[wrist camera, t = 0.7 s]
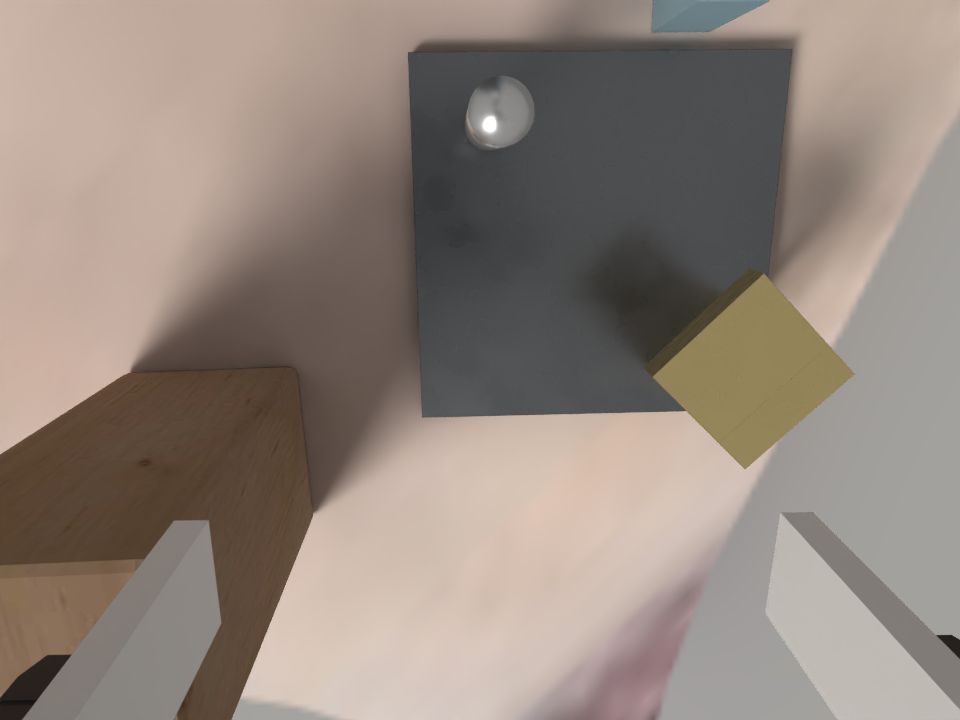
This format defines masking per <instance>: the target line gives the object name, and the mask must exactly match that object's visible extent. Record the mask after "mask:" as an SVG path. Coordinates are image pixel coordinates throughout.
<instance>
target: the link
mask: <svg viewBox="0 0 960 720" xmlns="http://www.w3.org/2000/svg"><path fill="white" fill-rule="evenodd" d="M767 2H769V0H653V14H652V32H710V31H712V30H714V29H716V28H718V27H720V26H722V25H724V24H726V23H728V22H730V21H732V20H734V19H736V18H737V17H739V16H741V15H743V14H745V13H747V12H749V11H751V10H753V9H755V8H757V7H759V6H761V5H763V4H765V3H767Z"/></svg>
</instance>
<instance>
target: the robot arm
mask: <svg viewBox="0 0 960 720" xmlns="http://www.w3.org/2000/svg"><path fill="white" fill-rule="evenodd" d="M765 613H766V615H767V616H768V618H769V619H770V621H771V622H772V624H773V625H774V627H775V628H776V630H777V631H778V633H779V634H780V636H781V637H782V639H783V640H784V642H785V643H786V644H787V646H788V647H789V649H790V650H791V652H792V653H793V655H794V656H795V658H796V659H797V661H798V662H799V664H800V665H801V667H802V668H803V670H804V671H805V672H806V674H807V675H808V677H809V678H810V680H811V681H812V683H813V684H814V686H815V687H816V689H817V690H818V692H819V693H820V695H821V696H822V697H823V699H824V700H825V702H826V704H827V705H828V706H829V708H830V709H831V711H832V712H833V714H834V715H835V717H836V718H837V720H960V640H959V639H957V638H956V637H954V636H952V635H935V634H934V633H933V632H932V631H931V630H930V629H929V628H928V627H927V626H926V625H925V624H924V623H923V622H922V621H921V620H920V619H919V618H918V617H917V616H916V615H915V614H914V613H913V612H912V611H911V610H910V609H909V608H908V607H907V606H906V605H905V604H904V603H903V602H902V601H901V600H900V599H899V598H898V597H897V596H896V595H895V594H894V593H893V592H892V591H891V590H890V589H889V588H888V587H887V586H886V585H885V584H884V583H883V582H882V581H881V580H880V579H879V578H878V577H877V576H876V575H875V574H874V573H873V572H872V571H871V570H870V569H869V568H868V567H867V566H866V565H865V564H864V563H863V562H862V561H861V560H860V559H859V558H858V557H857V556H856V555H855V554H854V553H853V552H852V551H851V550H850V549H849V548H848V547H847V546H846V545H845V544H844V543H843V542H842V541H841V540H840V539H839V538H838V537H837V536H836V535H835V534H834V533H833V532H832V531H831V530H830V529H829V528H828V527H827V526H826V525H825V524H824V523H823V522H822V521H821V520H820V519H819V518H818V517H817V516H816V515H815V514H814V513H813V512H806V513H805V512H803V513H802V512H799V513H798V512H797V513H780V520H779V527H778V533H777V540H776V546H775V552H774V559H773V566H772V573H771V579H770V585H769V592H768V599H767V605H766V612H765ZM220 625H221V616H220V608H219V600H218V592H217V584H216V576H215V568H214V560H213V552H212V544H211V535H210V527H209V520H182V521H173V523H172V524H171V525H170V527H169V528H168V529H167V531H166V532H165V533H164V535H163V536H162V537H161V538H160V540H159V541H158V542H157V544H156V545H155V546H154V548H153V549H152V550H151V552H150V553H149V554H148V555H147V557H146V558H145V559H144V561H143V562H142V563H141V565H140V566H139V567H138V569H137V570H136V571H135V573H134V574H133V575H132V576H131V578H130V579H129V580H128V582H127V583H126V584H125V586H124V587H123V588H122V590H121V591H120V592H119V594H118V595H117V596H116V597H115V599H114V600H113V601H112V603H111V604H110V605H109V607H108V608H107V609H106V611H105V612H104V613H103V615H102V616H101V617H100V618H99V620H98V621H97V622H96V624H95V625H94V626H93V628H92V629H91V630H90V632H89V633H88V634H87V636H86V637H85V638H84V639H83V641H82V642H81V643H80V645H79V646H78V647H77V649H76V650H75V651H74V653H73V654H72V655H47V656H45V657H44V658H43V659H41V660H40V661H38V662H37V663H36V664H34V665H33V666H32V667H30V668H29V669H27V670H26V671H25V672H23V673H22V674H21V675H19V676H18V677H17V678H16V679H15V681H14V682H13V683H12V684H11V685H10V687H9V688H8V689H7V690H6V691H5V693H4V694H3V695H2V696H1V697H0V720H174V718H175V716H176V714H177V712H178V710H179V708H180V706H181V704H182V702H183V700H184V698H185V696H186V694H187V692H188V690H189V688H190V686H191V684H192V682H193V680H194V678H195V676H196V674H197V672H198V670H199V667H200V665H201V663H202V661H203V659H204V657H205V655H206V653H207V651H208V649H209V647H210V645H211V643H212V641H213V639H214V637H215V635H216V633H217V631H218V629H219V627H220Z"/></svg>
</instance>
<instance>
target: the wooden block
mask: <svg viewBox="0 0 960 720" xmlns="http://www.w3.org/2000/svg"><path fill="white" fill-rule="evenodd" d="M312 517H313V510H312V501H311V492H310V483H309V474H308V465H307V456H306V447H305V438H304V428H303V419H302V410H301V401H300V392H299V383H298V375H297V373H296V371H295V369H293V368H289V367H276V368H250V369H224V370H198V371H172V372H146V373H128V374H126V375H124V376H122V377H120V378H119V379H117V380H116V381H114V382H112V383H111V384H109V385H108V386H106V387H105V388H103V389H102V390H100V391H98V392H97V393H95V394H94V395H92V396H91V397H89V398H88V399H86V400H84V401H83V402H81V403H80V404H78V405H77V406H75V407H74V408H72V409H70V410H69V411H67V412H66V413H64V414H63V415H61V416H60V417H58V418H56V419H55V420H53V421H52V422H50V423H49V424H47V425H46V426H44V427H42V428H41V429H39V430H38V431H36V432H35V433H33V434H31V435H30V436H28V437H27V438H25V439H24V440H22V441H21V442H19V443H17V444H16V445H14V446H13V447H11V448H10V449H8V450H7V451H5V452H3V453H2V454H0V697H1V696H2V695H3V694H4V693H5V691H6V690H7V689H8V688H9V687H10V685H11V684H12V683H13V682H14V681H15V679H16V678H17V677H18V676H19V675H21V674H22V673H23V672H25V671H26V670H27V669H29V668H30V667H32V666H33V665H34V664H36V663H37V662H38V661H40V660H41V659H43V658H44V657H45V656H47V655H72V654H73V653H74V651H75V650H76V649H77V647H78V646H79V645H80V643H81V642H82V641H83V639H84V638H85V637H86V636H87V634H88V633H89V632H90V630H91V629H92V628H93V626H94V625H95V624H96V622H97V621H98V620H99V618H100V617H101V616H102V615H103V613H104V612H105V611H106V609H107V608H108V607H109V605H110V604H111V603H112V601H113V600H114V599H115V597H116V596H117V595H118V594H119V592H120V591H121V590H122V588H123V587H124V586H125V584H126V583H127V582H128V580H129V579H130V578H131V576H132V575H133V574H134V573H135V571H136V570H137V569H138V567H139V566H140V565H141V563H142V562H143V561H144V559H145V558H146V557H147V555H148V554H149V553H150V552H151V550H152V549H153V548H154V546H155V545H156V544H157V542H158V541H159V540H160V538H161V537H162V536H163V535H164V533H165V532H166V531H167V529H168V528H169V527H170V525H171V524H172V523H173V521H182V520H209V527H210V535H211V544H212V552H213V560H214V568H215V576H216V584H217V592H218V600H219V608H220V616H221V625H220V627H219V629H218V631H217V633H216V635H215V637H214V639H213V641H212V643H211V645H210V647H209V649H208V651H207V653H206V655H205V657H204V659H203V661H202V663H201V665H200V667H199V670H198V672H197V674H196V676H195V678H194V680H193V682H192V684H191V686H190V688H189V690H188V692H187V694H186V696H185V698H184V700H183V702H182V704H181V706H180V708H179V710H178V712H177V714H176V716H175V718H174V720H231V719H232V717H233V714H234V712H235V709H236V707H237V704H238V702H239V699H240V697H241V694H242V692H243V689H244V687H245V684H246V682H247V679H248V677H249V674H250V672H251V669H252V667H253V664H254V662H255V659H256V657H257V654H258V652H259V649H260V647H261V644H262V642H263V639H264V637H265V634H266V632H267V630H268V627H269V625H270V622H271V620H272V617H273V615H274V612H275V610H276V607H277V605H278V602H279V600H280V597H281V595H282V592H283V590H284V587H285V585H286V582H287V580H288V577H289V575H290V572H291V570H292V567H293V565H294V562H295V560H296V557H297V555H298V552H299V550H300V547H301V545H302V542H303V540H304V537H305V535H306V532H307V530H308V527H309V525H310V522H311V520H312Z"/></svg>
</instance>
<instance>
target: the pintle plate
mask: <svg viewBox="0 0 960 720" xmlns="http://www.w3.org/2000/svg"><path fill="white" fill-rule="evenodd" d="M791 56H792V49H780V50H655V51H530V52H408V64H409V89H410V115H411V141H412V167H413V192H414V218H415V244H416V270H417V295H418V321H419V347H420V372H421V398H422V418H423V417H463V416H504V415H545V414H585V413H626V412H667V411H687V412H688V413H689V414H690V415H691V416H692V417H693V418H694V419H695V420H696V421H697V422H698V423H699V424H700V425H701V426H702V427H703V428H704V429H705V430H706V431H707V432H708V433H709V434H710V435H711V436H712V437H713V438H714V439H715V440H716V441H717V442H718V443H719V444H720V445H721V446H722V447H723V448H724V449H725V450H726V451H727V452H728V453H729V454H730V455H731V456H732V457H733V458H734V459H735V460H736V461H737V462H738V463H739V464H740V465H741V466H742V467H743V468H744V469H746V468H747V467H748V466H749V465H751V464H752V463H753V462H754V461H755V460H756V459H757V458H759V457H760V456H761V455H762V454H763V453H764V452H766V451H767V450H768V449H769V448H770V447H771V446H772V445H774V444H775V443H776V442H777V441H778V440H779V439H781V438H782V437H783V436H784V435H785V434H786V433H787V432H789V431H790V430H791V429H792V428H793V427H794V426H796V425H797V424H798V423H799V422H800V421H801V420H802V419H804V418H805V417H806V416H807V415H808V414H809V413H810V412H812V411H813V410H814V409H815V408H816V407H817V406H818V405H820V404H821V403H822V402H823V401H824V400H825V399H827V398H828V397H829V396H830V395H831V394H832V393H834V392H835V391H836V390H837V389H838V388H839V387H840V386H842V385H843V384H844V383H845V382H846V381H847V380H848V379H850V378H851V377H852V376H853V375H854V373H853V372H852V371H851V369H850V368H849V367H848V366H847V365H846V364H845V363H844V362H843V361H842V359H841V358H840V357H839V356H838V355H837V354H836V353H835V352H834V351H833V349H832V348H831V347H830V346H829V345H828V344H827V343H826V342H825V341H824V339H823V338H822V337H821V336H820V335H819V334H818V333H817V332H816V331H815V330H814V328H813V327H812V326H811V325H810V324H809V323H808V322H807V321H806V320H805V318H804V317H803V316H802V315H801V314H800V313H799V312H798V311H797V310H796V308H795V307H794V306H793V305H792V304H791V303H790V302H789V301H788V300H787V298H786V297H785V296H784V295H783V294H782V293H781V292H780V291H779V290H778V288H777V287H776V286H775V285H774V284H773V283H772V282H771V281H770V280H769V278H768V271H769V261H770V252H771V243H772V233H773V224H774V215H775V205H776V196H777V187H778V177H779V168H780V159H781V149H782V140H783V131H784V122H785V112H786V103H787V94H788V84H789V75H790V66H791Z"/></svg>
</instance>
